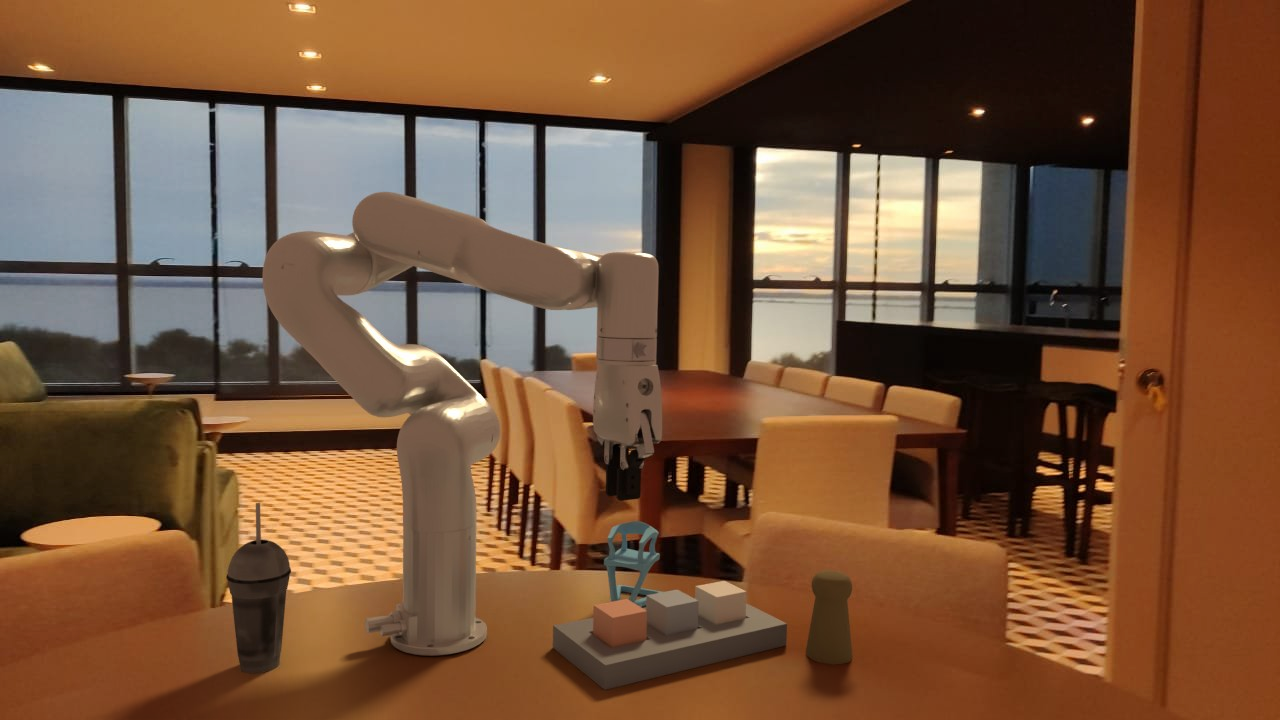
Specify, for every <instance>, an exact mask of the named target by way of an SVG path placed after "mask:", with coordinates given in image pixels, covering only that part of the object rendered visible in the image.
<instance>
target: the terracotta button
mask: <svg viewBox="0 0 1280 720" xmlns="http://www.w3.org/2000/svg"><path fill="white" fill-rule="evenodd" d="M643 608H644V607H640V606H638V605H636V604H635V603H633V602H631V601H630V600H629V598H624V599H620V600H618V601H613V602H611V601H610V602H608V601H607V602H603V603H598V604H597V603H596V604H593V610H592V612H593V616H592V618H593V635H594V636H595V637H597V638H598V639H599V640H601V641H602V642H604V643H605V644H606V645H608V646H609V647H611V648H613V647H617V646H622V645H626V644H631V643H635V642H640V641H645V640H646V633H647V611H646V610H645V609H643Z"/></svg>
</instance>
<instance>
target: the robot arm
mask: <svg viewBox="0 0 1280 720" xmlns="http://www.w3.org/2000/svg"><path fill="white" fill-rule="evenodd" d="M351 223H352V225H351V226H352V231H353V232H351V233H349V234H347V235H346V234H338V233H337V234H336V233H329V232H324V231H323V232H322V231H313V230H305V231H297V232H293V233H292V232H291V233H288V234H286V235H283V236H282V237H280V238H278V240H276V241H275V242H273V244H272V245H271V247H270V248H269V249H268V251H267V253H266V256H265V259H264V262H263V265H262V285H263V292H264V297H265V300H266V302H267V305H268V307H269V309H270V312H271V313H272V314H273V316H274V317H275V319H276V321H277V322H278V324H279V325H280V326H281V327H282V328H283V330H285V331H286V333H288V334H289V335H290V336H291V337H292V338H293V340H295V341H296V343H298V344H299V345H300V346H301V347H302V348H303V349H304V350H305V351H306V352H307V353H309V354H310V355H311V357H312V358H314V359H315V361H316V362H318V364H319V365H320V366H321V367H322V368H323V369H324V370H325V372H327V373H328V375H330V376H331V378H333V380H335V382H336V383H337V385H339V386H340V387H341V388H342V389H343V390H344V391H345V392H346V393H347V394H348V395H349V396H350V397H351V398H352V399H353V400H354V402H356V404H358V405H359V406H360V408H362V409H363V410H364V411H366V412H367V413H368V414H370V415H372V416H375V417H377V418H393V417H397V416H401V415H405V414H409V416H408V417H407V419H406V420H405V421H404V422H403V424H402V425H401V427H400V429H399V432H398V436H397V440H396V441H397V442H396V455H397V457H396V458H397V462H398V468H399V472H400V473H399V475H400V480H401V491H402V492H401V493H402V528H403V530H402V602H401V603H396V605H395V611H390V612H389V614H388V615H381V616H380V615H378V616H372V617H366V618H365V621H364V626H365V627H364V628H365V632H366V634H372V633H377V632H379V633H380V635H381V637H385V636H389V637H390V644H391V645H392V646H393V647H394V648H396V649H397V650H399V651H400V652H403V653H407V654H411V655H415V656H445V655H446V656H447V655H452V654H458V653H461V652H465V651H468V650H470V649H473V648H475V647H477V646H478V645H480V644H482V642H484V641H485V640H486V638H487V636H488V626H487V624H486V623H485V621H483V620H482V619H481V618H479V617H476V598H477V597H476V595H477V594H476V593H477V592H476V590H477V587H476V586H477V583H476V582H477V496H476V489H475V485H474V479H473V475H472V473H473V472H472V465H474V464H476V463H479V462H480V461H482V460H484V459H486V458H487V457H488V456H490V455H491V454H492V452H494V450H495V449H496V448H497V446H498V443H499V441H500V437H501V424H500V420H499V417H498V415H497V413H496V412H495V410H494V408H493V407H492V405H491V404H490V403H489V402H488V401H487V399H485V398H484V397H483V396H482V394H481V393H479V392H478V391H477V389H475V388H474V387H473V386H472V384H470V383H469V382H468V380H467V379H466V378H464V377H463V376H462V375H461V374H460V373H459V372H458V371H457V370H456V368H454V367H453V366H452V365H451V364H450V363H449V362H448V361H447V360H446V359H445V358H444V357H443V356H442V355H440V354H439V353H438V352H436V351H435V350H433V349H430V348H429V347H427V346H424V345H420V344H415V343H412V344H411V343H407V344H395V343H393V342H392V341H390V340H389V339H388V338H387V337H385V336H384V335H383V334H382V333H381V332H380V331H379V330H377V328H376V327H374V326H373V324H372V323H371V322H370V321H369V320H368V319H367V318H366V317H365V316H364V315H363V314H362V313H361V312H359V311H358V310H357V309H355V308H353V306H351V305H349V304H348V303H347V302H345V301H343V300H342V299H341V298H340V297H339V296H354V295H355V296H356V295H360V294H362V293H366V292H367V291H370V290H371V289H374V288H375V287H377V286H379V285H381V284H384V283H385V282H387V281H389V280H391V279H392V278H394V277H396V276H397V275H399V274H401V273H403V272H405V271H407V270H409V269H411V268H413V267H415V268H419V269H422V270H425V271H428V272H432V273H435V274H436V275H437V274H438V275H441V276H443V277H447V278H449V279H453V280H456V281H459V282H461V283H463V284H465V285H468V286H470V285H471V286H473V287H476V288H479V289H482V290H484V291H487V292H489V293H492V294H496V295H498V296H501V297H505V298H508V299H511V300H514V301H518V302H520V303H523V304H527V305H530V306H533V307H537V308H540V309H545V310H549V311H550V310H551V311H565V310H567V311H573V310H574V311H575V310H583V309H584V310H585V309H593V308H597V309H596V310H597V311H596V350H595V351H596V353H595V354H596V355H595V361H596V362H595V363H596V364H597V365H596V366H597V367H596V374H595V382H594V390H593V391H594V394H593V409H592V424H593V426H592V427H593V431H594V433H595V434H596V440H597V441H598V442H599V443H600V445H601V446H602V449H603V452H604V453H603V457H604V458H603V459H604V463H605V466H606V467H605V495H606V496H608V497H615V496H616V497H615V498H616V500H617V501H620V502H624V501H632V500H639V499H640V498H641V490H642V489H641V486H642V483H641V482H642V469H643V468H644V465H645V463H644V462H645V460H646V458H648V457H650V456H653V455H654V453H655V448H654V444H655V445H656V444H659V443H660V442H661V441H662V439H663V438H662V437H663V405H662V386H661V379H660V378H661V377H660V372H659V367H658V366H659V365H658V364H657V350H658V349H657V343H658V341H657V340H658V339H657V337H658V305H659V302H658V301H659V262H658V260H657V259H656V257H655V256H654V255H652V254H650V253H647V252H646V253H645V252H631V251H629V252H628V251H626V252H625V251H624V252H621V251H617V252H613V251H612V252H608V253H605V254H603V255H602V254H594V253H588V252H583V251H579V250H574V249H570V248H569V249H568V248H564V247H558V246H555V245H550V244H549V243H548V244H547V243H543V242H540V241H537V240H534V239H530V238H528V237H527V238H526V237H524V236H520V235H517V234H513V233H511V232H507V231H504V230H501V229H498V228H496V227H493V226H492V225H490V224H488V223H487V222H486V221H485V220H484V219H482V218H480V217H477V216H475V215H471V214H467V213H464V212H461V211H457V210H454V209H450V208H447V207H443V206H439V205H436V204H434V203H430V202H427V201H425V200H423V199H421V198H417V197H413V196H409V195H404V194H400V193H397V192H391V191H378V192H374V193H371V194H369V195H367V196H365V197H364V198H363V199H361V200H360V201H359V202H358V204H357V205H356V207H355V209H354V211H353V214H352V220H351Z"/></svg>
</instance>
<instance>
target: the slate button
mask: <svg viewBox="0 0 1280 720" xmlns="http://www.w3.org/2000/svg"><path fill="white" fill-rule="evenodd" d="M645 597H646V606H645V607H646V611H647V625H648V626H650V627H652V628H653V629H655V630H656V631H658V632H660V633H661V634H663V635H664V636H668V635H672V634H677V633H681V632H686V631H691V630H695V629H698V605H699V601H698V600H696V599H694V598H695V597H692V596H691V595H689V594H687V593H685V592H683V591H681V590H679V589H673V590H667V591H661V593H656V594H651V595H645Z"/></svg>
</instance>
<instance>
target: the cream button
mask: <svg viewBox="0 0 1280 720" xmlns="http://www.w3.org/2000/svg"><path fill="white" fill-rule="evenodd" d="M694 591H695V592H694V598H695V599H696V600H698V601H699V605H698V616H700V617H702V618H704V619H706V620H707V621H709V622H711V623H713V624H714V625H718V624H723V623H727V622H732V621H736V620H741V619H746V603H747V592H748V591H746V590H745V589H742V588H740V587H738V586H737V585H734V584H732V583H730V582H728V581H726V580H721V581H715V582H710V583H705V584H699V585H695V589H694Z"/></svg>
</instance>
